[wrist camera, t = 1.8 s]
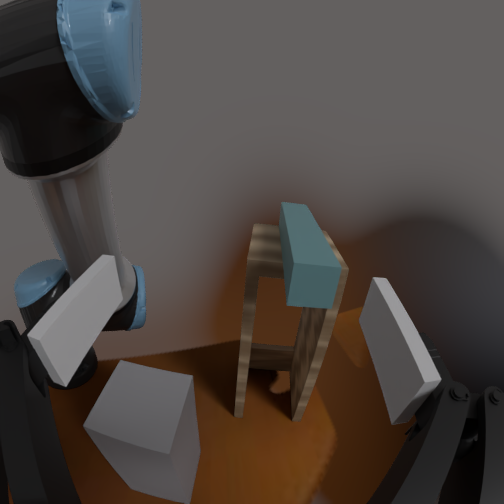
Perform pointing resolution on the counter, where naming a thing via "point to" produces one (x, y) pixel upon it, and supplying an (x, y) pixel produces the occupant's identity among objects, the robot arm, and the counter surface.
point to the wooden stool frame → (309, 332)
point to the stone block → (148, 430)
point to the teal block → (306, 259)
